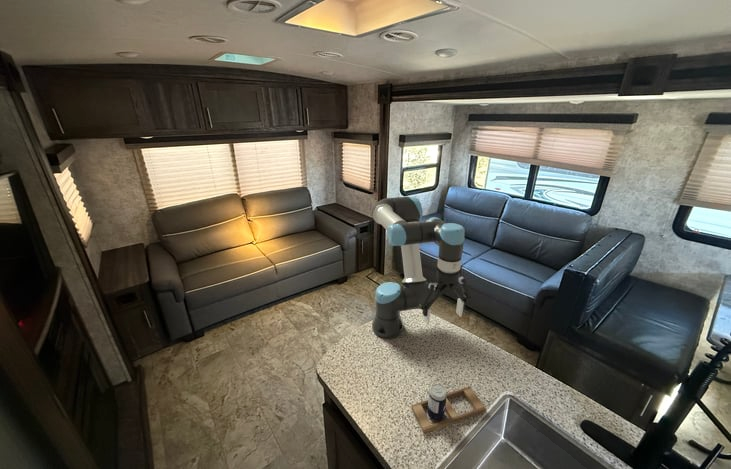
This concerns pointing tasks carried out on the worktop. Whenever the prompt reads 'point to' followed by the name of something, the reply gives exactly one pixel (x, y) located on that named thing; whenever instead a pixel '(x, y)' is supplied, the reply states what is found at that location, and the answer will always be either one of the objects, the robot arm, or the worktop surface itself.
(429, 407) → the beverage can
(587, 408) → the worktop surface
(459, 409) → the worktop surface
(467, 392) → the wooden frame
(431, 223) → the robot arm
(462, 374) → the worktop surface
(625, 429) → the worktop surface
